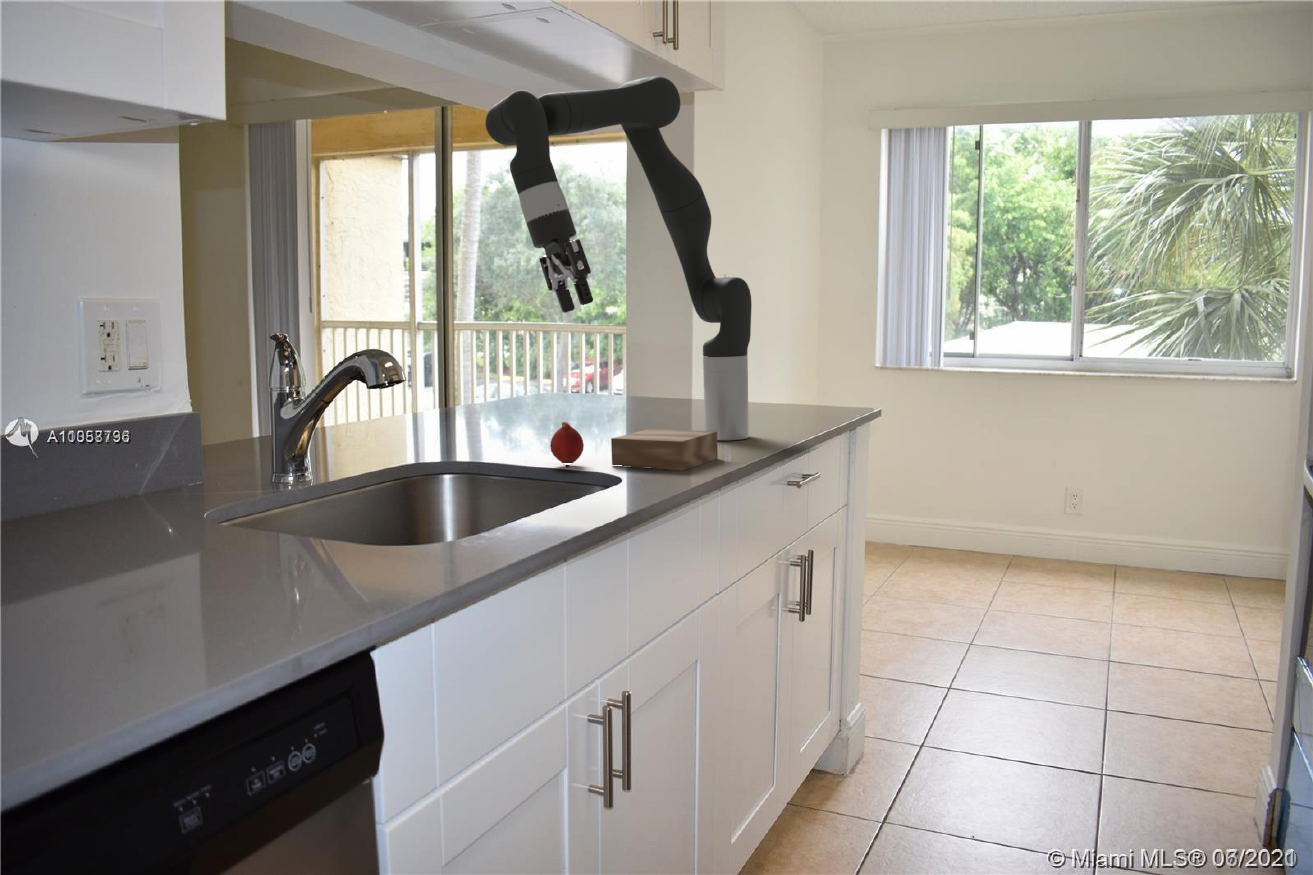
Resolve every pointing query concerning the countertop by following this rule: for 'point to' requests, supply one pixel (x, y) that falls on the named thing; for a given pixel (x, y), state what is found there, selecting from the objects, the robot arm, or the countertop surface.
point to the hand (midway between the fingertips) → (578, 307)
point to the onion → (567, 444)
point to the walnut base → (665, 449)
